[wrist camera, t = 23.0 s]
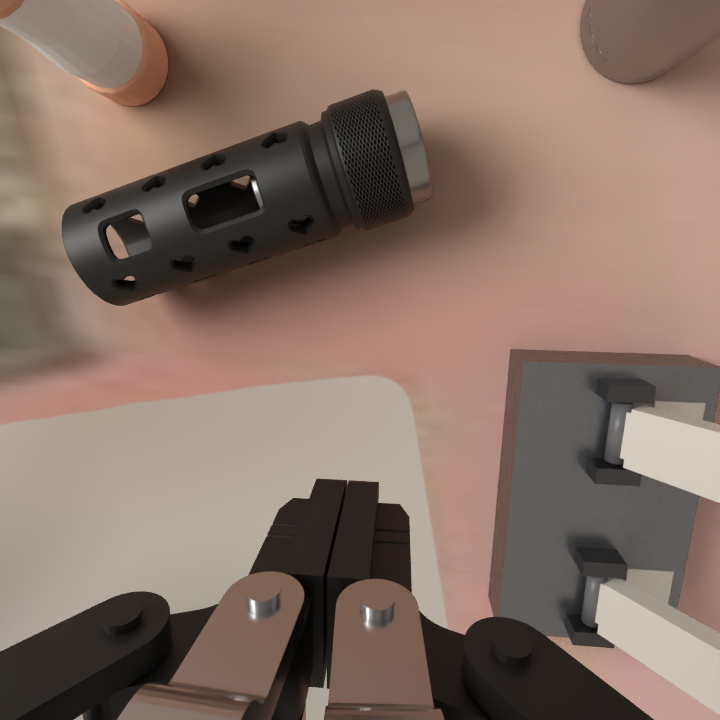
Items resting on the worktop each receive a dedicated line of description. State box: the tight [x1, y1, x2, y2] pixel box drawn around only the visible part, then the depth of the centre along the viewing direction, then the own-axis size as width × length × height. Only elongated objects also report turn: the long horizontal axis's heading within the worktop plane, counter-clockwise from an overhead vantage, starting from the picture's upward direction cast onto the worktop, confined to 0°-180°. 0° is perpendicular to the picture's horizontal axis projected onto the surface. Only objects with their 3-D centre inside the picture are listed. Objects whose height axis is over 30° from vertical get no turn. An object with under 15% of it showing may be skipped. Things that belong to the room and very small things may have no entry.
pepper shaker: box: [0, 0, 168, 106], centre depth 33 cm, size 7×7×19 cm
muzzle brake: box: [62, 90, 433, 306], centre depth 39 cm, size 10×28×10 cm, turn 107°
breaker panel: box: [488, 349, 720, 648], centre depth 44 cm, size 16×27×7 cm, turn 179°
